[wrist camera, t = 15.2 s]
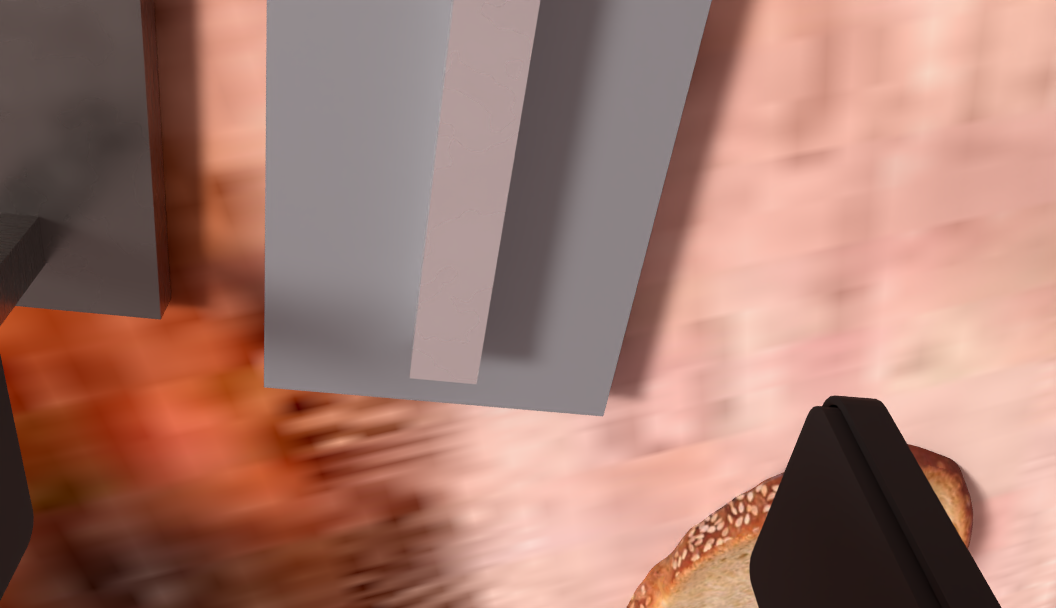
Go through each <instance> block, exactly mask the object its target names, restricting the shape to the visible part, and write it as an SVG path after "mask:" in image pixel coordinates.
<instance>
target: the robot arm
mask: <svg viewBox="0 0 1056 608" xmlns="http://www.w3.org/2000/svg"><path fill="white" fill-rule="evenodd" d="M32 529H33V509H32V505H31V500H30V495H29V490H28V485H27V481H26V476H25V471H24V466H23V462H22V457H21V452H20V447H19V442H18V438H17V433H16V428H15V423H14V418H13V414H12V409H11V404H10V399H9V394H8V390H7V385H6V380H5V375H4V370H3V366H2V361H1V356H0V600H1V598H2V596H3V594H4V592H5V590H6V588H7V586H8V584H9V582H10V580H11V578H12V576H13V574H14V572H15V570H16V568H17V566H18V564H19V562H20V560H21V558H22V556H23V554H24V552H25V550H26V548H27V546H28V543H29V541H30V538H31V534H32ZM749 573H750V581H751V585H752V588H753V592H754V595H755V598H756V601H757V604H758V607H759V608H1001V606H1000V604H999V603H998V601H997V599H996V597H995V596H994V594H993V592H992V590H991V589H990V587H989V585H988V584H987V582H986V580H985V578H984V577H983V575H982V573H981V571H980V570H979V568H978V566H977V564H976V563H975V561H974V559H973V557H972V556H971V554H970V552H969V551H968V549H967V547H966V545H965V544H964V542H963V540H962V538H961V537H960V535H959V533H958V531H957V530H956V528H955V526H954V525H953V523H952V521H951V519H950V518H949V516H948V514H947V512H946V511H945V509H944V507H943V505H942V504H941V502H940V500H939V499H938V497H937V495H936V493H935V492H934V490H933V488H932V486H931V485H930V483H929V481H928V479H927V478H926V476H925V474H924V473H923V471H922V469H921V467H920V466H919V464H918V462H917V460H916V459H915V457H914V455H913V453H912V452H911V450H910V448H909V447H908V445H907V443H906V441H905V440H904V438H903V436H902V434H901V433H900V431H899V429H898V427H897V426H896V424H895V422H894V420H893V419H892V417H891V415H890V414H889V412H888V410H887V408H886V407H885V406H884V404H883V403H882V402H881V401H879V400H877V399H871V398H858V397H846V396H830V397H829V398H828V399H827V400H825V402H824V404H823V406H816V407H813V408H812V409H811V410H810V412H809V414H808V416H807V418H806V421H805V423H804V426H803V428H802V430H801V433H800V435H799V438H798V440H797V443H796V445H795V448H794V450H793V453H792V455H791V457H790V460H789V462H788V465H787V467H786V470H785V472H784V475H783V477H782V480H781V482H780V484H779V487H778V489H777V492H776V494H775V497H774V499H773V502H772V504H771V507H770V509H769V511H768V514H767V516H766V519H765V521H764V524H763V526H762V529H761V531H760V534H759V536H758V538H757V541H756V543H755V546H754V548H753V551H752V554H751V557H750V564H749Z"/></svg>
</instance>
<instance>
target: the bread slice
mask: <svg viewBox="0 0 1056 608" xmlns="http://www.w3.org/2000/svg"><path fill="white" fill-rule="evenodd" d="M907 445H908V444H907ZM908 447H909V448H910V450H911V452H912V453H913V455H914V457H915V459H916V460H917V462H918V464H919V466H920V467H921V469H922V471H923V473H924V474H925V476H926V478H927V479H928V481H929V483H930V485H931V486H932V488H933V490H934V492H935V493H936V495H937V497H938V499H939V500H940V502H941V504H942V505H943V507H944V509H945V511H946V512H947V514H948V516H949V518H950V519H951V521H952V523H953V525H954V526H955V528H956V530H957V531H958V533H959V535H960V537H961V538H962V540H963V542H964V544H965V545H966V547H967V549H968V547H969V543H970V538H971V533H972V524H973V509H972V503H971V499H970V495H969V492H968V489H967V486H966V483H965V481H964V478H963V475H962V473H961V470H960V468H959V466H958V465H957V464H956V463H955V462H954V461H953V460H951V459H950V458H947V457H945V456H942V455H939V454H937V453H934V452H932V451H929V450H926V449H923V448H920V447H917V446H913V445H908ZM783 475H784V473H781V474H779V475H776V476H774V477H771V478H769V479H767V480H765V481H763V482H761V483H760V484H759V485H757V486H756V487H755V488H753V489H751V490H749V491H748V492H745V493H743V494H741V495H739V496H737V497H736V498H734V499H733V500H732V501H730V502H729V503H728V504H726V505H725V506H723V507H722V508H720V509H719V510H717V511H715V512H714V513H712V514H711V515H709V516H708V517H707V518H706V519H705V520H704V521H702V522H701V523H699V524H697V525H695V526H694V527H692V528H691V529H690V530H689V531H688V532H687V534H686V535H685V536H684V537H683V538H682V540H681V541H680V543H679V544H678V546H677V547H676V548H675V550H674V551H673V552H672V553H671V554H670V555H669V556H668V557H667V558H665V559H664V560H662V561H661V562H659V563H658V564H656V565H655V566H654V567H653V568H652V569H651V570H650V572H649V573H648V575H647V576H646V578H645V579H644V580H643V582H642V583H641V584H640V585H639V586H638V588H637V589H636V591H635V593H634V595H633V597H632V598H631V600H630V602H629V604H628V606H627V608H759V607H758V604H757V601H756V598H755V595H754V592H753V588H752V585H751V581H750V573H749V564H750V557H751V554H752V551H753V548H754V546H755V543H756V541H757V538H758V536H759V534H760V531H761V529H762V526H763V524H764V521H765V519H766V516H767V514H768V511H769V509H770V507H771V504H772V502H773V499H774V497H775V494H776V492H777V489H778V487H779V484H780V482H781V480H782V477H783Z"/></svg>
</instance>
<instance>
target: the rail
mask: <svg viewBox="0 0 1056 608" xmlns="http://www.w3.org/2000/svg"><path fill="white" fill-rule="evenodd" d="M539 6H540V0H452V4H451V12H450V21H449V30H448V38H447V47H446V56H445V64H444V73H443V82H442V90H441V99H440V107H439V116H438V125H437V133H436V142H435V151H434V159H433V168H432V176H431V185H430V194H429V202H428V211H427V220H426V228H425V237H424V246H423V254H422V263H421V271H420V280H419V289H418V297H417V306H416V315H415V323H414V332H413V341H412V354H411V367H410V378H413V379H424V380H435V381H446V382H457V383H468V384H477V379H478V373H479V367H480V361H481V355H482V349H483V343H484V337H485V331H486V325H487V319H488V313H489V306H490V300H491V294H492V288H493V282H494V276H495V270H496V264H497V258H498V252H499V246H500V240H501V234H502V228H503V222H504V216H505V210H506V204H507V198H508V192H509V186H510V180H511V174H512V168H513V162H514V156H515V150H516V144H517V138H518V132H519V126H520V120H521V114H522V108H523V102H524V96H525V90H526V84H527V78H528V72H529V66H530V60H531V54H532V48H533V42H534V36H535V30H536V24H537V18H538V12H539Z"/></svg>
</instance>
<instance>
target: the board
mask: <svg viewBox="0 0 1056 608" xmlns="http://www.w3.org/2000/svg"><path fill="white" fill-rule="evenodd" d="M711 1H712V0H540V6H539V12H538V18H537V24H536V30H535V36H534V42H533V48H532V54H531V60H530V66H529V72H528V78H527V84H526V90H525V96H524V102H523V108H522V114H521V120H520V126H519V132H518V138H517V144H516V150H515V156H514V162H513V168H512V174H511V180H510V186H509V192H508V198H507V204H506V210H505V216H504V222H503V228H502V234H501V240H500V246H499V252H498V258H497V264H496V270H495V276H494V282H493V288H492V294H491V300H490V306H489V313H488V319H487V325H486V331H485V337H484V343H483V349H482V355H481V361H480V367H479V373H478V379H477V384H468V383H457V382H446V381H435V380H424V379H413V378H410V367H411V354H412V341H413V332H414V323H415V315H416V306H417V297H418V289H419V280H420V271H421V263H422V254H423V246H424V237H425V228H426V220H427V211H428V202H429V194H430V185H431V176H432V168H433V159H434V151H435V142H436V133H437V125H438V116H439V107H440V99H441V90H442V82H443V73H444V64H445V56H446V47H447V38H448V30H449V21H450V12H451V4H452V0H267V53H266V189H265V326H264V387H267V388H279V389H291V390H302V391H314V392H326V393H337V394H349V395H361V396H372V397H384V398H396V399H407V400H419V401H431V402H442V403H454V404H466V405H477V406H489V407H501V408H512V409H524V410H536V411H547V412H559V413H570V414H582V415H594V416H603V415H604V411H605V408H606V404H607V400H608V396H609V392H610V388H611V385H612V381H613V377H614V373H615V369H616V365H617V362H618V358H619V354H620V350H621V346H622V342H623V339H624V335H625V331H626V327H627V323H628V319H629V316H630V312H631V308H632V304H633V300H634V296H635V293H636V289H637V285H638V281H639V277H640V273H641V270H642V266H643V262H644V258H645V254H646V250H647V247H648V243H649V239H650V235H651V231H652V227H653V224H654V220H655V216H656V212H657V208H658V204H659V201H660V197H661V193H662V189H663V185H664V181H665V177H666V174H667V170H668V166H669V162H670V158H671V154H672V151H673V147H674V143H675V139H676V135H677V131H678V128H679V124H680V120H681V116H682V112H683V108H684V105H685V101H686V97H687V93H688V89H689V85H690V82H691V78H692V74H693V70H694V66H695V62H696V59H697V55H698V51H699V47H700V43H701V39H702V36H703V32H704V28H705V24H706V20H707V16H708V13H709V9H710V5H711Z"/></svg>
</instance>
